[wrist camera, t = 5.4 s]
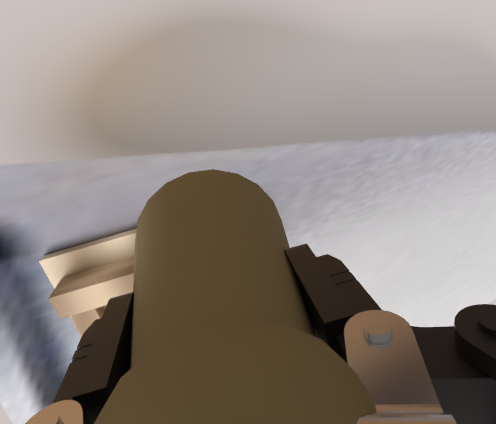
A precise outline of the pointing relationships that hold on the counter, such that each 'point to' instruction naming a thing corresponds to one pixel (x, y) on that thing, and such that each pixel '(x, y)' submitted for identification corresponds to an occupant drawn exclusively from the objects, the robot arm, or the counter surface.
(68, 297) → the cradle
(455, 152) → the counter surface
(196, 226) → the olive pepper mill
